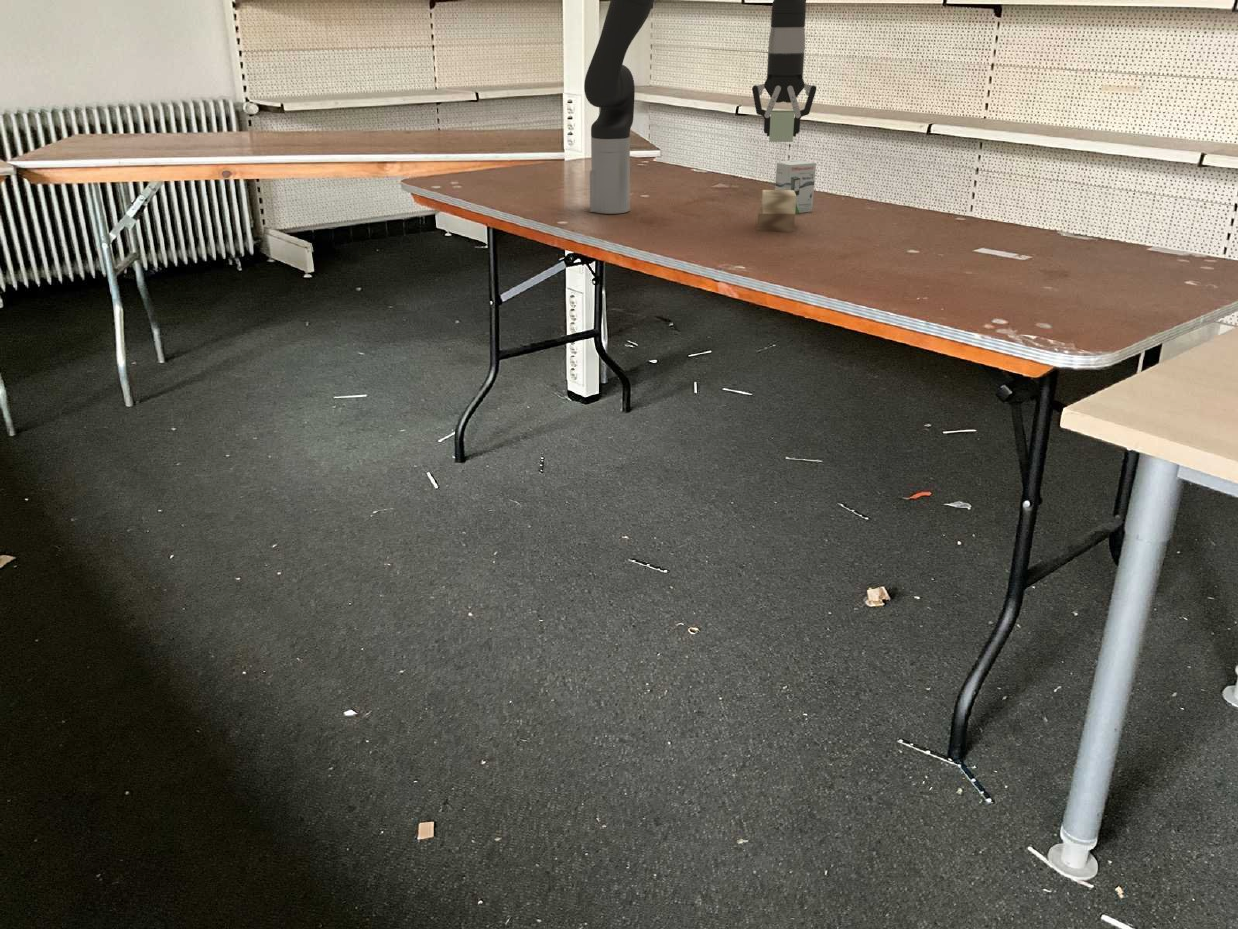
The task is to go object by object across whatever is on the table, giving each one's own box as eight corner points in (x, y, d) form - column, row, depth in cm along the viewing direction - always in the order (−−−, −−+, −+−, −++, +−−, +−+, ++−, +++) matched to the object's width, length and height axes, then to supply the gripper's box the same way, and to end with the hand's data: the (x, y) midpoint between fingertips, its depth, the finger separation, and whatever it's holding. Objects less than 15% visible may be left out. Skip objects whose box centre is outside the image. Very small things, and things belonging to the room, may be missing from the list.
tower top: (763, 213, 215) (764, 195, 213) (761, 207, 221) (762, 189, 220) (795, 214, 215) (796, 195, 213) (792, 208, 221) (793, 190, 219)
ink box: (784, 215, 233) (788, 163, 228) (772, 211, 237) (775, 161, 232) (813, 211, 237) (817, 161, 232) (800, 208, 241) (803, 158, 236)
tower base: (756, 231, 217) (758, 213, 215) (759, 224, 224) (760, 206, 222) (793, 232, 216) (794, 214, 214) (794, 225, 223) (795, 208, 221)
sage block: (769, 141, 210) (770, 112, 207) (769, 138, 214) (771, 110, 212) (792, 141, 209) (794, 112, 206) (792, 139, 213) (794, 110, 211)
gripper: (751, 51, 202) (747, 137, 209) (821, 51, 200) (815, 138, 207) (752, 50, 208) (748, 133, 216) (820, 50, 206) (814, 134, 213)
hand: (781, 135), depth 211 cm, fingers closed on sage block, 5 cm apart
